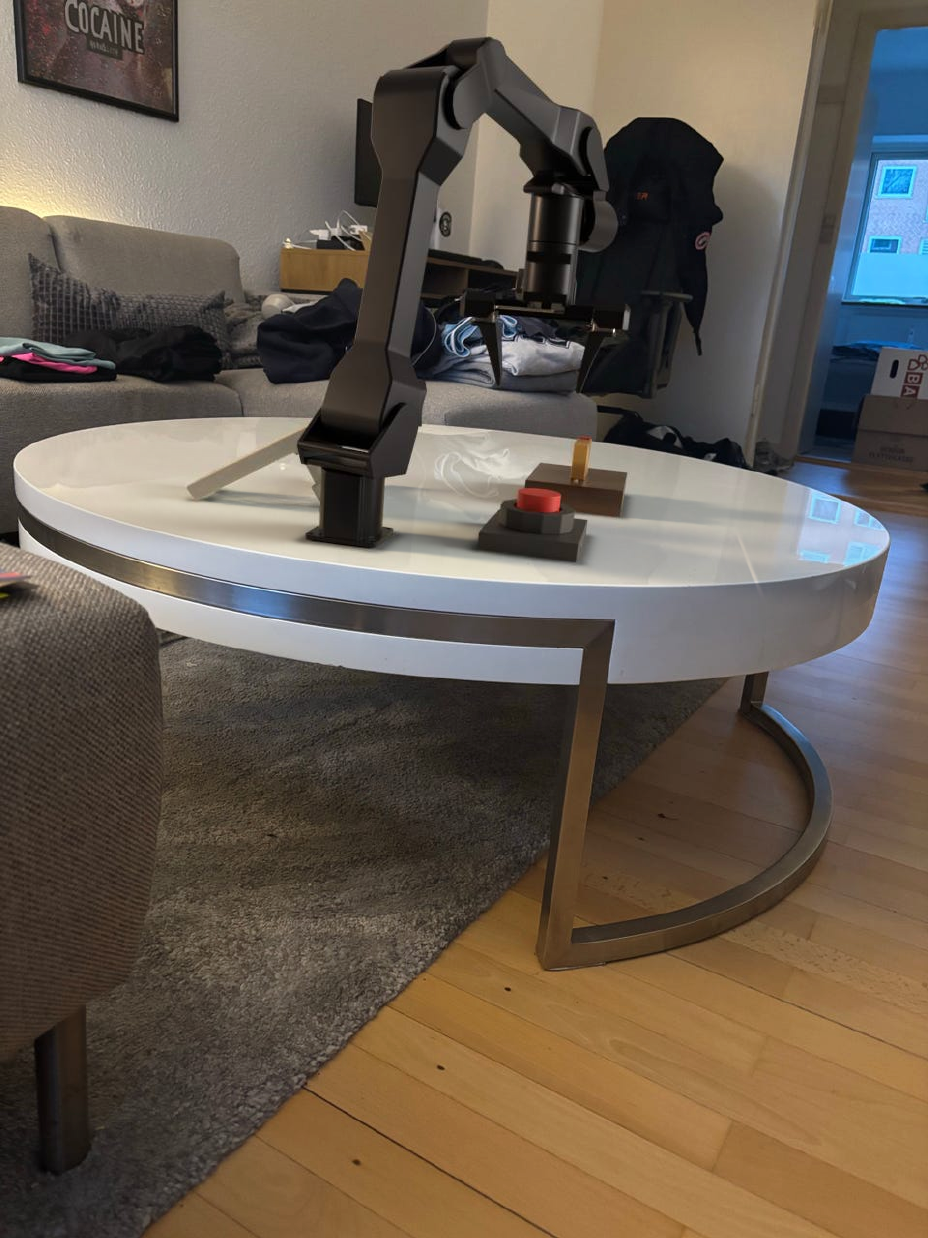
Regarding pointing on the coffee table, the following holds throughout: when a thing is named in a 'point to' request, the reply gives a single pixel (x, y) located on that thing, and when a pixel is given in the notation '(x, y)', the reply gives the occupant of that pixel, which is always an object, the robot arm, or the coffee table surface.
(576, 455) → the upright gold plate
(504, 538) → the button base
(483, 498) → the coffee table surface
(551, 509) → the bell button
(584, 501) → the plate
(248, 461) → the door handle
